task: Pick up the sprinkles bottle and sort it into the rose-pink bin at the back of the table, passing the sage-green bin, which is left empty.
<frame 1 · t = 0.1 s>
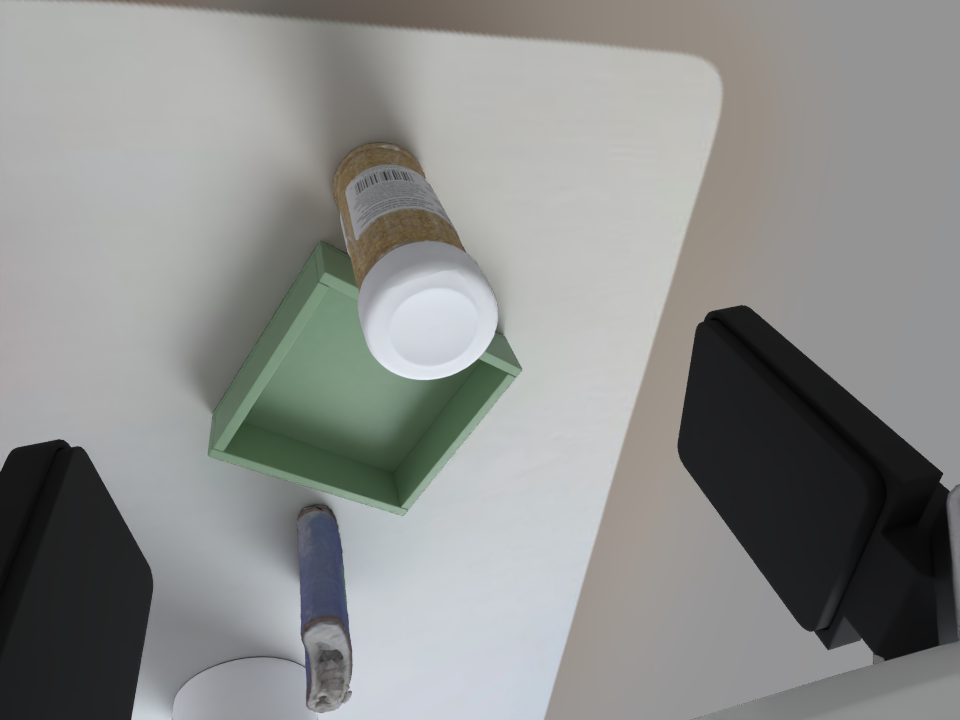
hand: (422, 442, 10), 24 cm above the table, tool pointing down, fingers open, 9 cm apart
sprinkles bottle: (379, 184, 32), on the table
flask: (319, 548, 46), on the table
green bin: (362, 374, 38), on the table
tall pillar cylinder: (247, 695, 53), on the table
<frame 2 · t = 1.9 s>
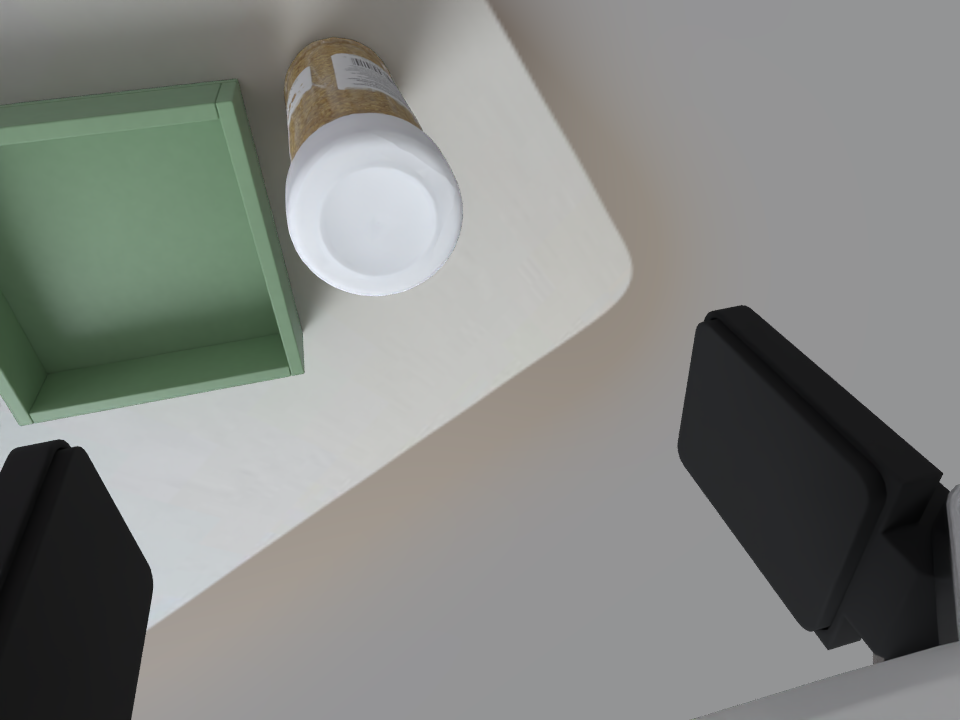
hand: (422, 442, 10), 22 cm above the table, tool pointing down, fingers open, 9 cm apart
sprinkles bottle: (340, 94, 28), on the table
green bin: (131, 242, 29), on the table
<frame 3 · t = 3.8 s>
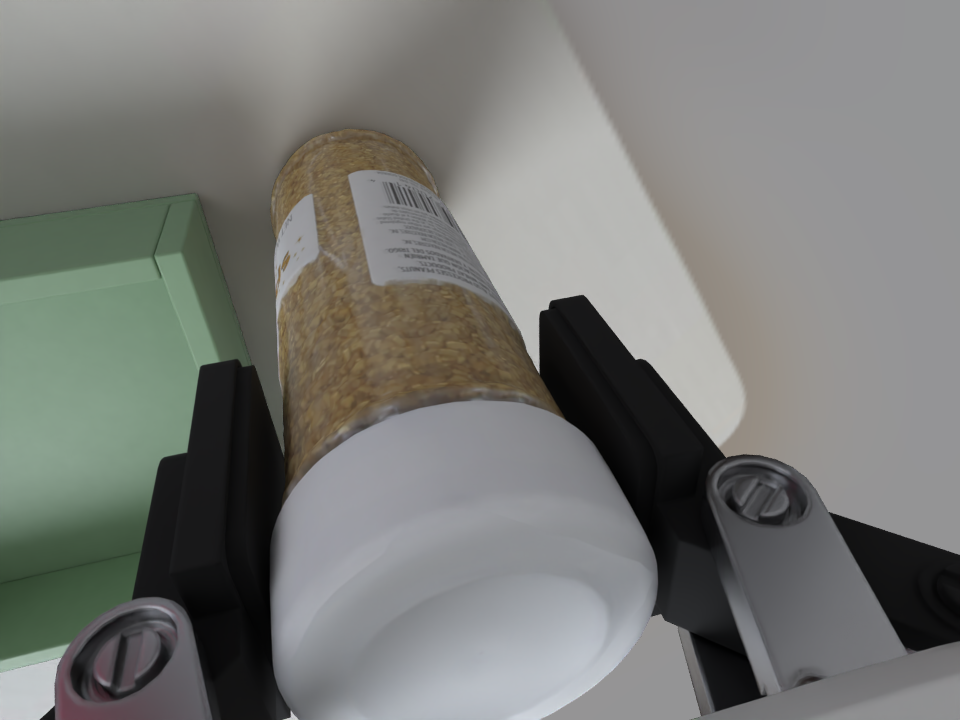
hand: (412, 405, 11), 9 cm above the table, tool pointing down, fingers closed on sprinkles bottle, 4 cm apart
sprinkles bottle: (357, 207, 18), on the table, touching gripper
green bin: (43, 423, 19), on the table
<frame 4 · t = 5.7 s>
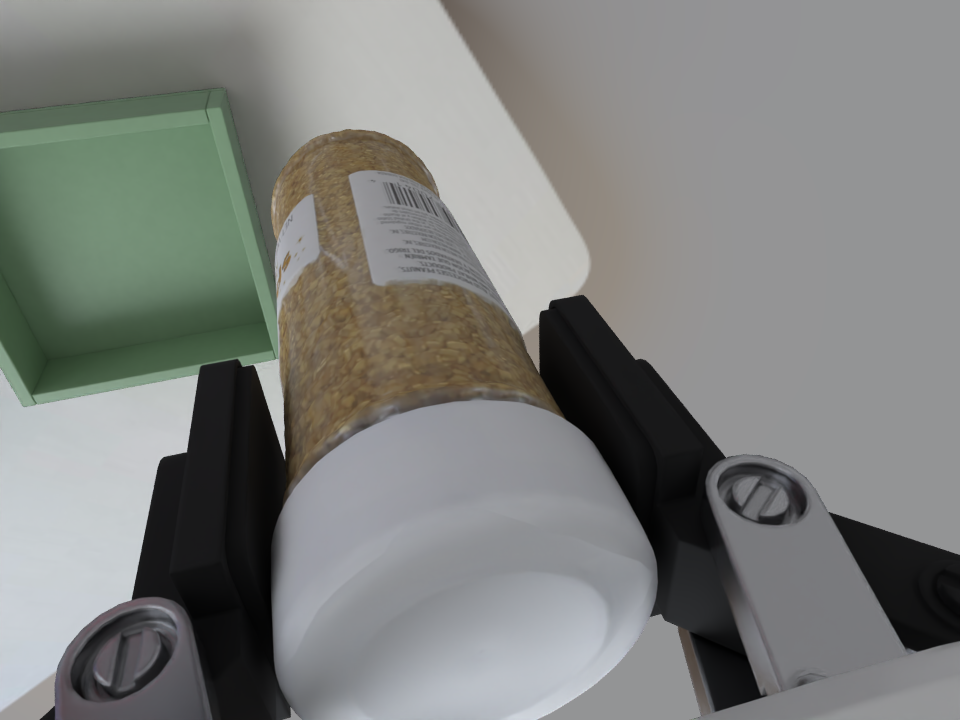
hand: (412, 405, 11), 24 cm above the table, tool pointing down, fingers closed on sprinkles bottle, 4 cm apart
sprinkles bottle: (357, 207, 18), point 15 cm above the table, touching gripper
green bin: (126, 237, 31), on the table
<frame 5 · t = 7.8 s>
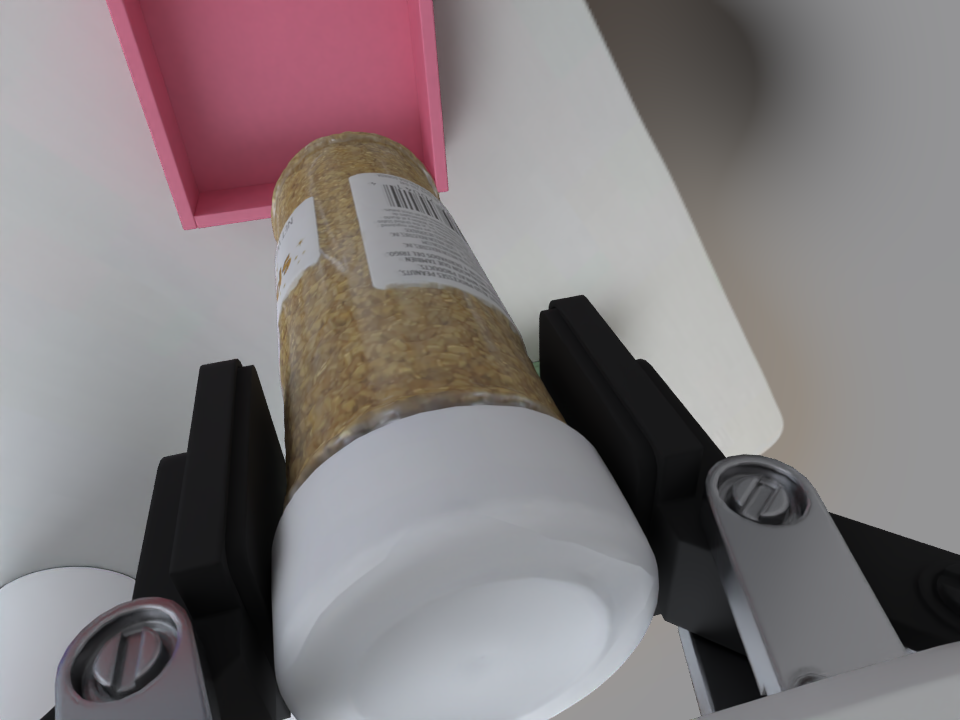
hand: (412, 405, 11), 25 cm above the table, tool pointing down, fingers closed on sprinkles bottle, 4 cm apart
sprinkles bottle: (357, 209, 18), point 16 cm above the table, touching gripper
pink bin: (290, 54, 30), on the table
tall pillar cylinder: (76, 615, 46), on the table
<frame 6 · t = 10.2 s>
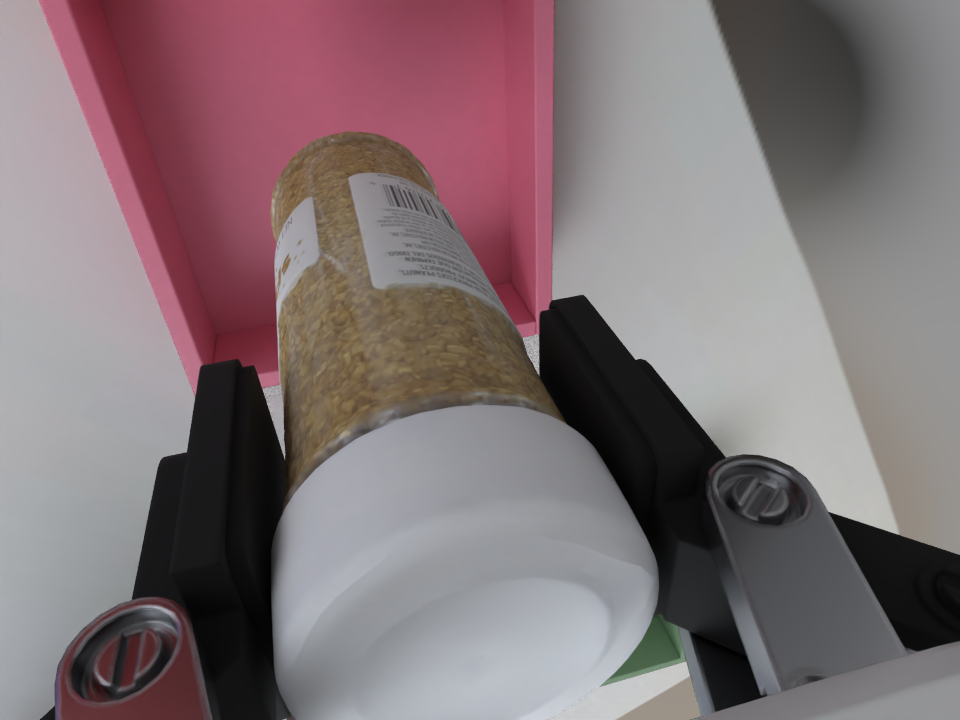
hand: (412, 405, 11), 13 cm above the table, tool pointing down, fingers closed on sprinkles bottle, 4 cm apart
sprinkles bottle: (357, 209, 18), point 5 cm above the table, touching gripper
pink bin: (342, 156, 22), on the table
green bin: (576, 577, 38), on the table
when the fingers open (9 cm above the table, at t = 11.7 s): sprinkles bottle stays where it is, resting on pink bin.
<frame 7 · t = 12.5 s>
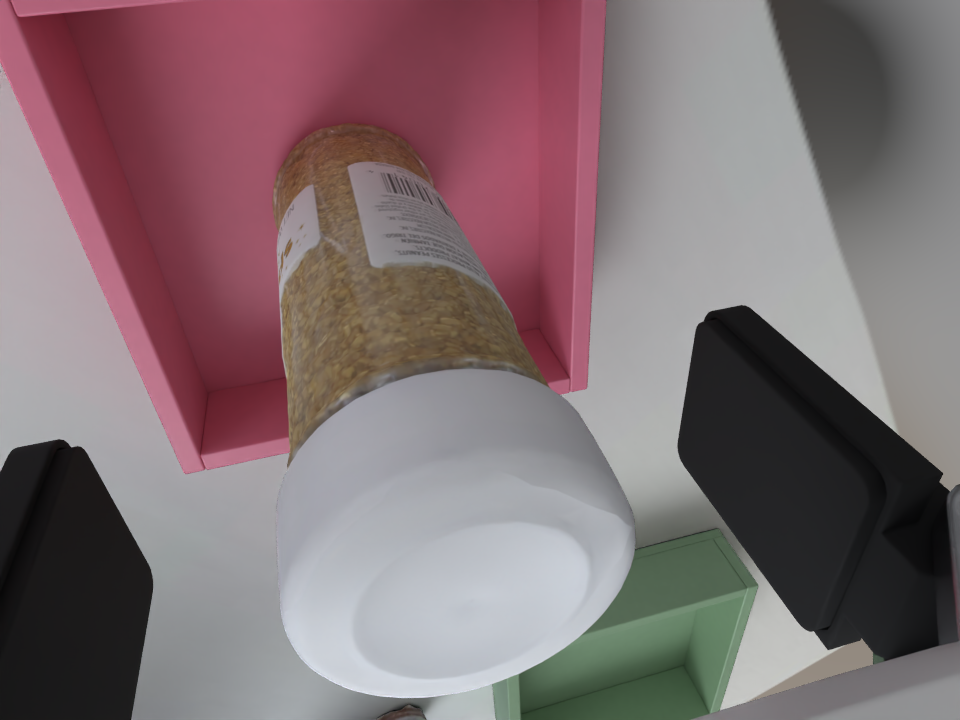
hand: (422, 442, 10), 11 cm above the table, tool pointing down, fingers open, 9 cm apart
sprinkles bottle: (356, 199, 19), resting on pink bin
pink bin: (350, 193, 19), on the table
green bin: (599, 629, 36), on the table
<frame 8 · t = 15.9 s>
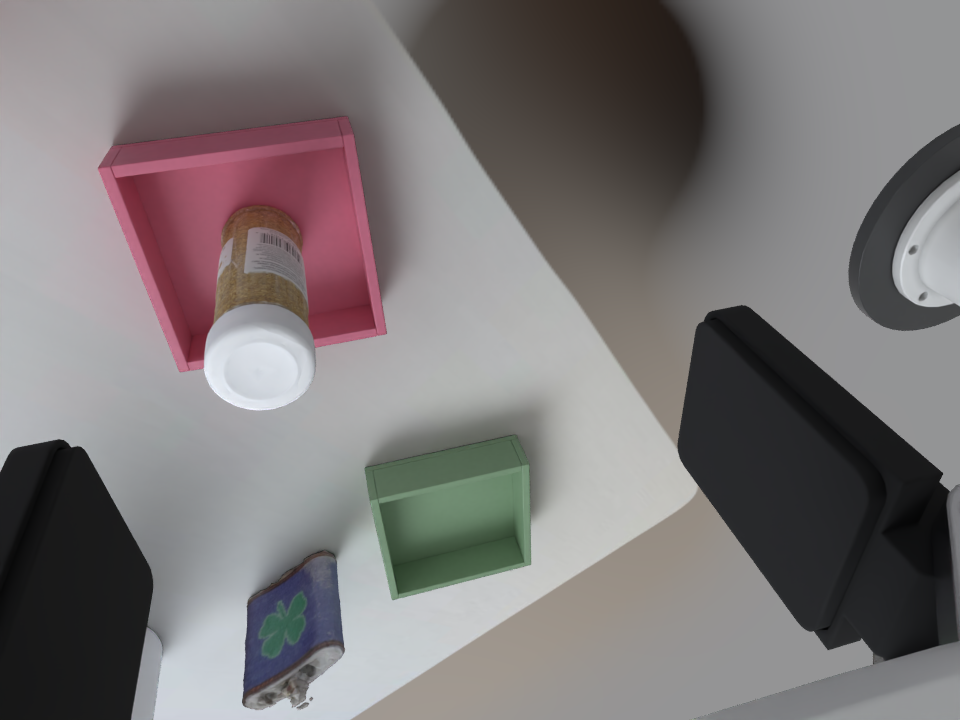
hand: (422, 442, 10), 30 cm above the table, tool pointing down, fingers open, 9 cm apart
sprinkles bottle: (263, 238, 39), resting on pink bin
flask: (292, 579, 56), on the table
pink bin: (261, 235, 39), on the table
green bin: (448, 503, 55), on the table
tall pillar cylinder: (92, 652, 55), on the table
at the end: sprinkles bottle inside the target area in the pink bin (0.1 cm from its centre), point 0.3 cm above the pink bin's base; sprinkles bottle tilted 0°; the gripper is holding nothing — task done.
